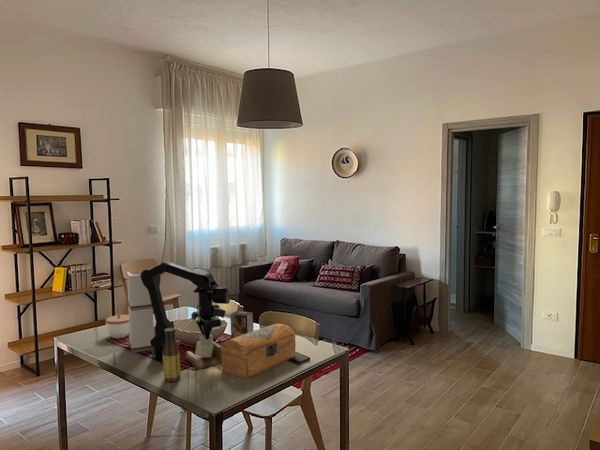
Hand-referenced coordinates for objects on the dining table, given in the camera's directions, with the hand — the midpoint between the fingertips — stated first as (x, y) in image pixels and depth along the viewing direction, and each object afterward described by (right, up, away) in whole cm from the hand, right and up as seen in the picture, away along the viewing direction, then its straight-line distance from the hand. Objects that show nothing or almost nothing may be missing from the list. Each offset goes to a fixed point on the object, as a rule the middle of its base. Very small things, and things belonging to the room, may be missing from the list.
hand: (206, 338), depth 194 cm
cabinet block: (-1, -7, 0) cm, 7 cm away
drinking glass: (-2, -8, +23) cm, 25 cm away
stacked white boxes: (-33, -9, +18) cm, 39 cm away
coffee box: (+13, -8, +17) cm, 23 cm away
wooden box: (+24, -10, -3) cm, 26 cm away
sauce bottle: (-9, -11, -19) cm, 24 cm away
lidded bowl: (-51, -8, +35) cm, 62 cm away
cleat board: (-1, -9, 0) cm, 9 cm away
